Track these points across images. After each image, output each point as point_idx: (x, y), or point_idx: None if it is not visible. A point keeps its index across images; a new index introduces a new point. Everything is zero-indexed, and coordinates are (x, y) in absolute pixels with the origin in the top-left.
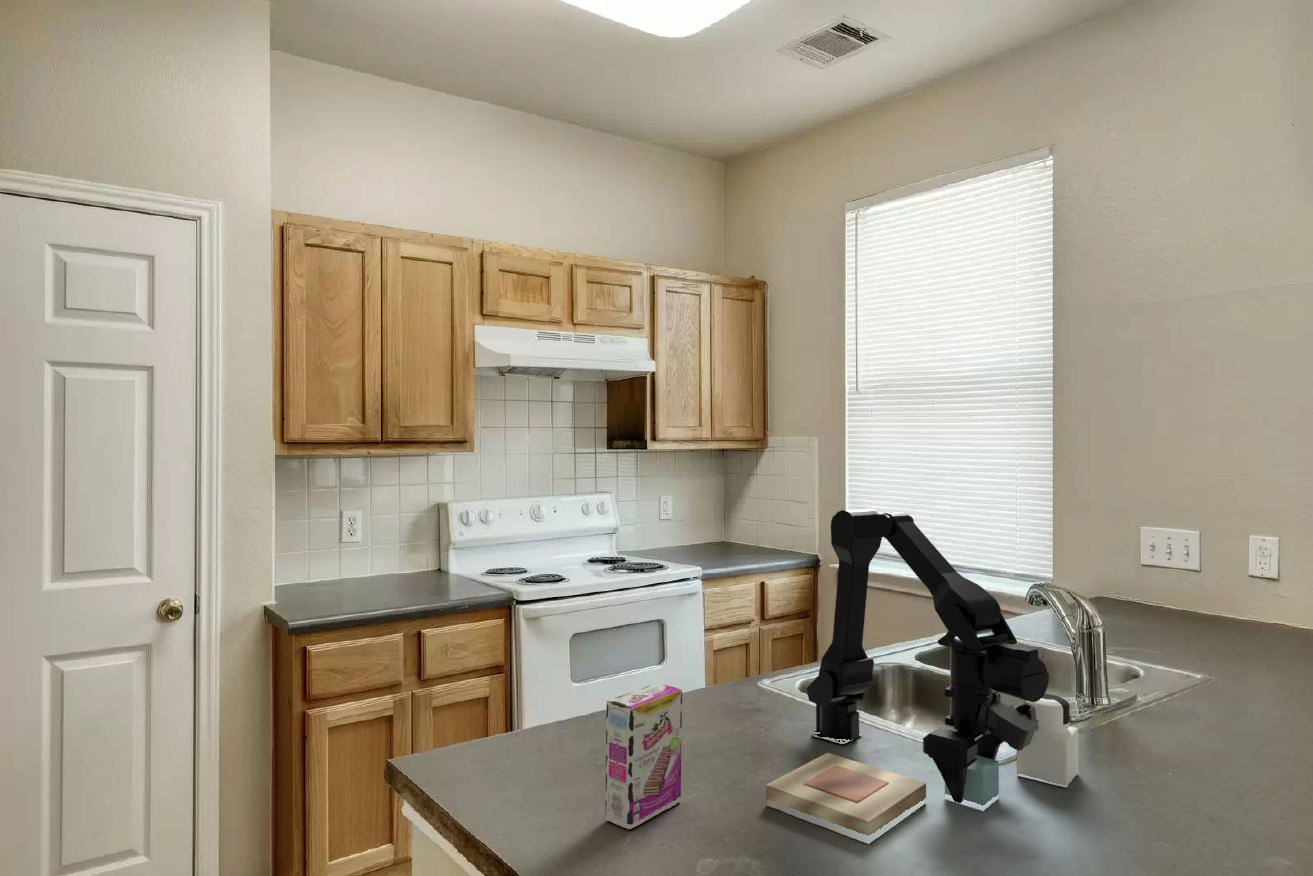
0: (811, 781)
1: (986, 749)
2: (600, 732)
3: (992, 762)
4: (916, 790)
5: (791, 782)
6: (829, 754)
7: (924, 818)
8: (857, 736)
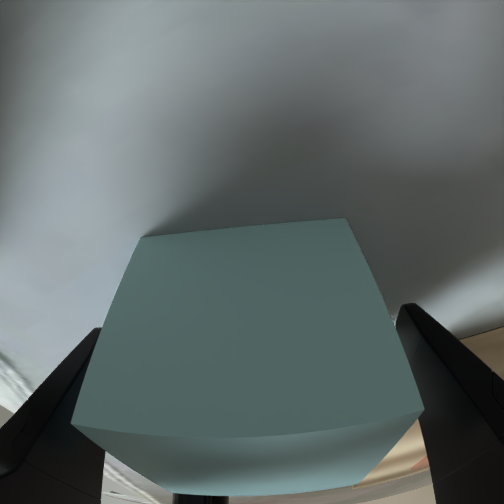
0: None
1: (58, 468)
2: (378, 495)
3: (135, 443)
4: None
5: None
6: (359, 487)
7: (488, 309)
8: None
